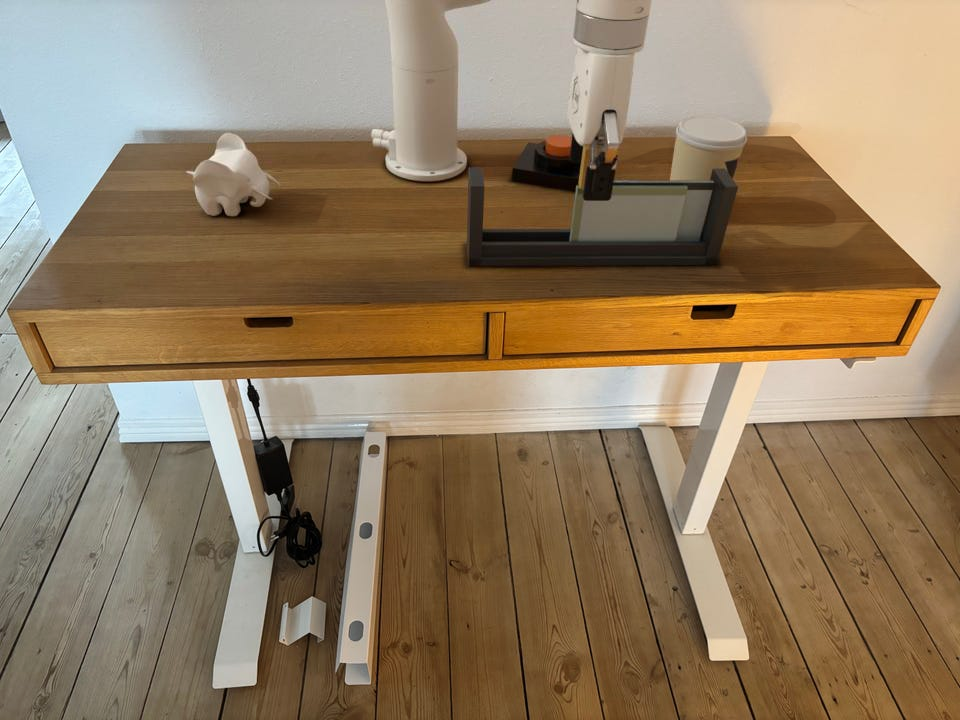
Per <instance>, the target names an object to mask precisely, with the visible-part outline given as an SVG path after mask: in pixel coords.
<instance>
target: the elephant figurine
mask: <svg viewBox="0 0 960 720" xmlns="http://www.w3.org/2000/svg"><path fill="white" fill-rule="evenodd" d="M215 148H216V149H215V151H214V154H213V155H212V156H211V157H210V158H209V159H204V160H203V161H201V162H200V163H199V164H198V165H197V167H196V168H195V171H191V170H190V171H189V170H187V171H186V174H188V175H190V176H192V180H191V181H192V183H193V184H194V192H195V193H194V194H195V196H196V200H197V202H198V204H199V205H200V207H201V208H202V210H203V211H204V212H205V213H206V214H207V215H209V216H212V217H216V216H218V215H220V214H222V212H223V210H224V213H225V215H226V216H228V217H237V216H238V215H239V214H240V213H241V206H240V205H241V204H244V203H246V202H247V201H248V199H249V197H252V199H251V200H250V201H249V204H250V206H252V207H254V208H260V207H261V206H263V205H264V204H265V202H266V200H272V201H274V199H273V198H272V197H271V196H269V195H270V190H271V186H270V182H269V180H270V181H272V182H273V183H275V184H276V185H278V186H281V187H282V185H281V183H280V182H279V181H277V180H276V178H274V177H273V176H272V175H271V174H269V173H268V172H264V171H263V170H262V168H261V167H260V165H259V162H258V158H257V157H256V156H255V154H254V153H252V152H251V150H249V149H248V146H247V145H246V143H245V141H244V140H243V139H242V138H241V137H240V136H239V135H237V134H234V133H232V132H225V133H224V134H222V135H221V136H220V137H219V138H218V139H217V142H216V147H215ZM222 207H223V208H222Z"/></svg>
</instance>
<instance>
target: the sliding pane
mask: <svg viewBox="0 0 960 720" xmlns="http://www.w3.org/2000/svg"><path fill="white" fill-rule="evenodd" d="M600 152H603V148H597V157H598V155H599V153H600ZM587 166H590V145H585V146H583V153H582V161H581V168H580V176H579V185H577V186H576V192H574V193H575V194H574V202H573V208H572V209H573V210H572V218H571V225H570V229H571V232H570V240H569V242H647V241H675V240H676V235H677V231H678V227H679V223H680V218H681V214H682V210H683V206H684V201H685V197H686V193H687V189H688V188H687V186H613V189H612V195H611V199H610V200H609V201H585V200H584V199H583V190H584V182H585V175H586V168H587Z"/></svg>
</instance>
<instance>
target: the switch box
mask: <svg viewBox="0 0 960 720" xmlns="http://www.w3.org/2000/svg"><path fill="white" fill-rule="evenodd" d="M545 146H546V139H545V140H543V141H540V142H536V143H535V142H531V141H530V142H529V141H528V142H527V143H526V145H525V147H524V149H523V150H522V152H521V153H520V155H519V156H518V158H517V160H516V162H515V163H514V165H513V167H512V171H511V182H513V183H520V184H524V185H532V186H537V187H544V188H550V189H556V190H562V191H569V192H574V193H576V186H577V185H579V176H580V168H581V164H577V163H571V162H570V160H569V157H570V156H562V157H560V156H553V155H551V154H548V153H546V152H545Z"/></svg>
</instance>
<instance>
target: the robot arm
mask: <svg viewBox="0 0 960 720" xmlns="http://www.w3.org/2000/svg"><path fill="white" fill-rule="evenodd" d="M488 2H491V0H384V3H385V8H386V14H387V20H388V21H387V22H388V29H389V44H390V61H391V82H392V108H393V127H394V129H392V130H391V131H389V130H388V131H387V130H385V129H379V128H373V129H372V130H371V134H370V139H371V141H372V146H373V148H378V149H382V148H383V149H386V151H387V153H386V155H385V167H386V168H387V170H388V171H389V172H391V174H393V175H395V176H397V177H399V178H402V179H405V180H410V181H415V182H439V181H445V180H448V179H453V178H455V177H457V176H458V175H460V174H462V173H463V172H464V171H465V170H466V168H467V166H468V157H467V154H466V153H465V151H463V150H462V149H460V148H459V147H458V118H459V117H458V114H459V113H458V110H459V109H458V107H459V105H458V103H459V45H458V41H457V37H456V35H455V33H454V31H453V30H452V28H451V26H450V25H449V23H448V20H447V19H446V15H445V13H446V12H449V11H452V10H457V9H462V8H468V7H474V6H478V5H482V4H486V3H488ZM651 6H652V0H576V8H575V16H574V25H573V26H574V27H573V34H572V43H573V45H574V46H575V47H577V48H576V52H575V57H574V63H573V68H572V77H571V81H570V89H569V95H568V100H567V109H566V118H567V121H568V124H569V127H570V129H571V132H572V133H571V138H572V141H571V149H570V157H569V160H570V162H571V163H577V164H581V161H582V153H583V146H585V145H590V166H587V168H586V175H585V182H584V190H583V199H584V200H585V201H609V200H610V199H611V195H612V189H613V183H614V180H615V176H616V170H617V163H618V160H619V159H618V157H619V155H618V152H619V150H620V144H622V142H623V139H624V135H625V130H626V125H627V120H628V112H629V105H630V99H631V92H632V91H631V90H632V81H633V75H634V63H635V54H637V53H639V52H641V51H642V50H644V48H645V42H646V36H647V30H648V23H649V18H650V12H651ZM599 138H603V139H599ZM597 148H602V152H600V153H599V155H598V157H597Z"/></svg>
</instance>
